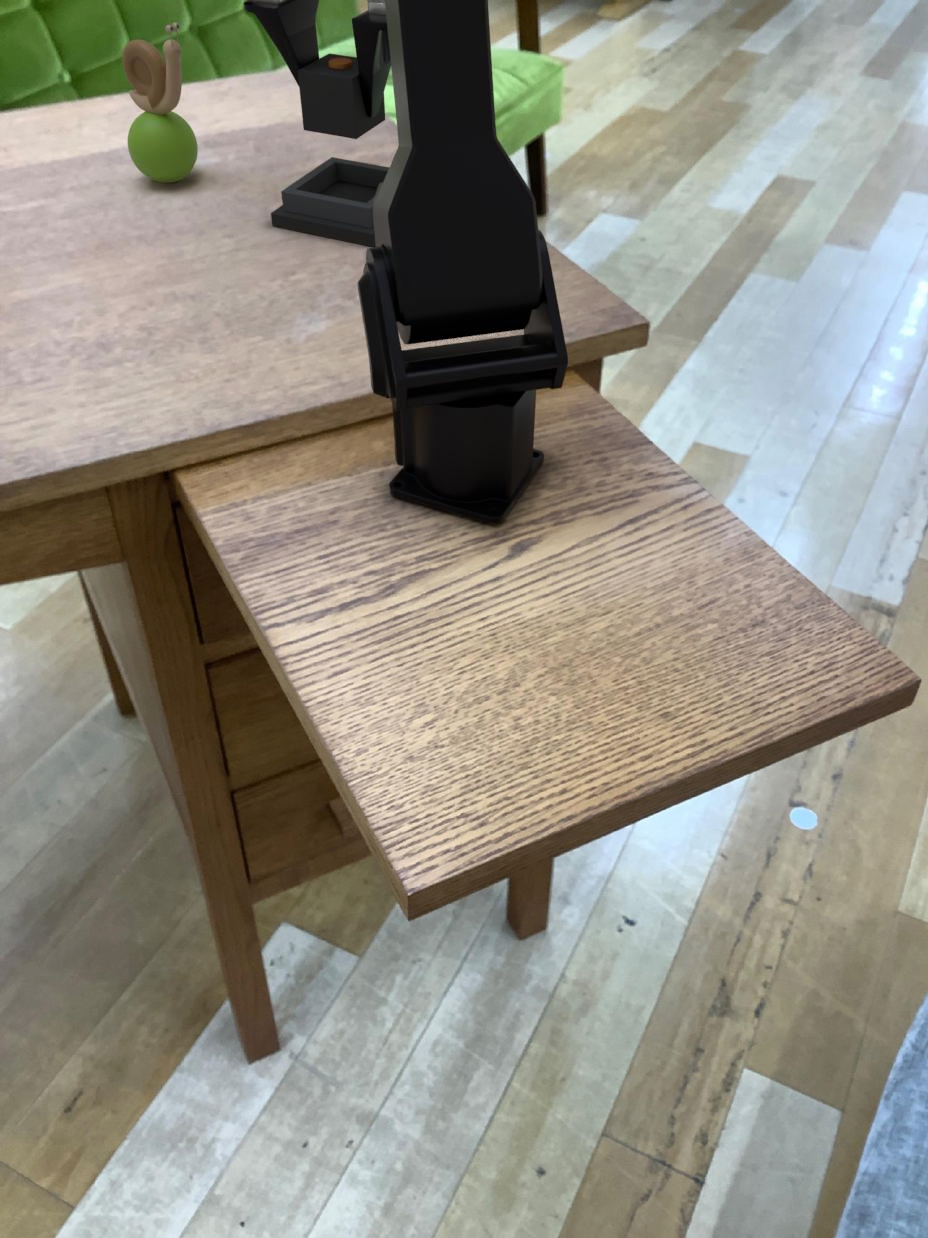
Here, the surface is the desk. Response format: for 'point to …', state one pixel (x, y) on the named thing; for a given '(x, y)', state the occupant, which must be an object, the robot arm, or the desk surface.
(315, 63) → the pad block
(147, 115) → the snail figurine
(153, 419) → the desk surface
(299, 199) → the base pad
